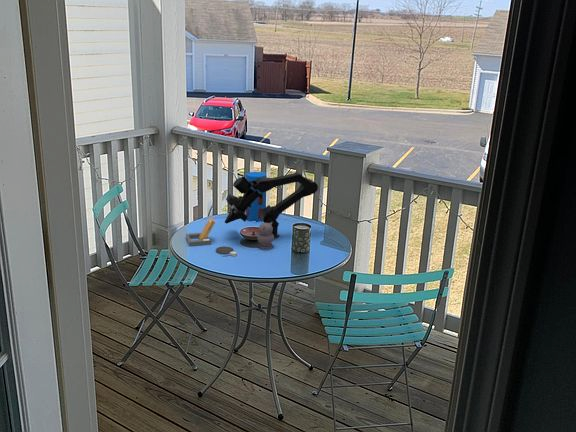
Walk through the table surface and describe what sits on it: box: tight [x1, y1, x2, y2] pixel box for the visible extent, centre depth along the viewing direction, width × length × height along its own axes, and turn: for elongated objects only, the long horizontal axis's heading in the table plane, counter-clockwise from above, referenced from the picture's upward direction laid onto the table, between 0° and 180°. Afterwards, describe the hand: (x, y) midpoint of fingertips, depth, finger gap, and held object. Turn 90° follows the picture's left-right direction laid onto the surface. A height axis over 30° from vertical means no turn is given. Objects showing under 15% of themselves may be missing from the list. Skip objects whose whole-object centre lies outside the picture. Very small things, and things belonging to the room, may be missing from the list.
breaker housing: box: [185, 232, 212, 247], centre depth 266 cm, size 10×11×3 cm
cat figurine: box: [256, 222, 275, 250], centre depth 263 cm, size 8×8×12 cm
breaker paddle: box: [199, 216, 216, 240], centre depth 266 cm, size 2×6×11 cm, turn 19°
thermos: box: [245, 171, 267, 223], centre depth 298 cm, size 11×11×25 cm
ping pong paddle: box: [215, 245, 238, 258], centre depth 256 cm, size 10×8×2 cm
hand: (225, 222), depth 268 cm, fingers closed
